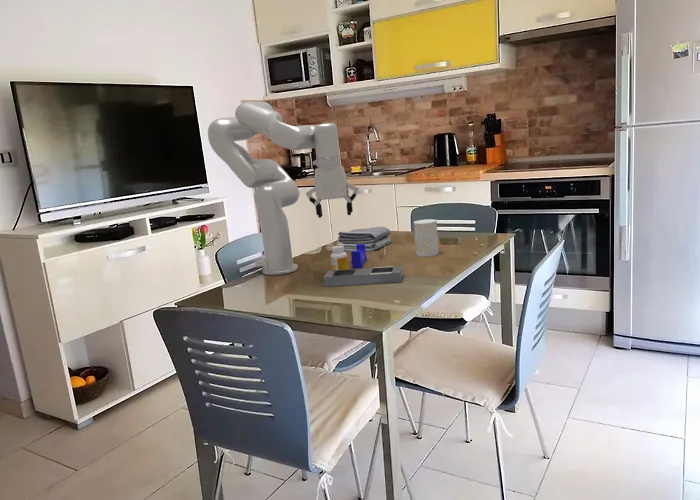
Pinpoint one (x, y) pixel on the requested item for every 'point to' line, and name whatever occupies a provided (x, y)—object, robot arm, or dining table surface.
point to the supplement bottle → (339, 258)
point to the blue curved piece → (358, 256)
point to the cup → (426, 237)
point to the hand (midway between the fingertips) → (334, 215)
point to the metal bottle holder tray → (363, 276)
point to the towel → (364, 238)
